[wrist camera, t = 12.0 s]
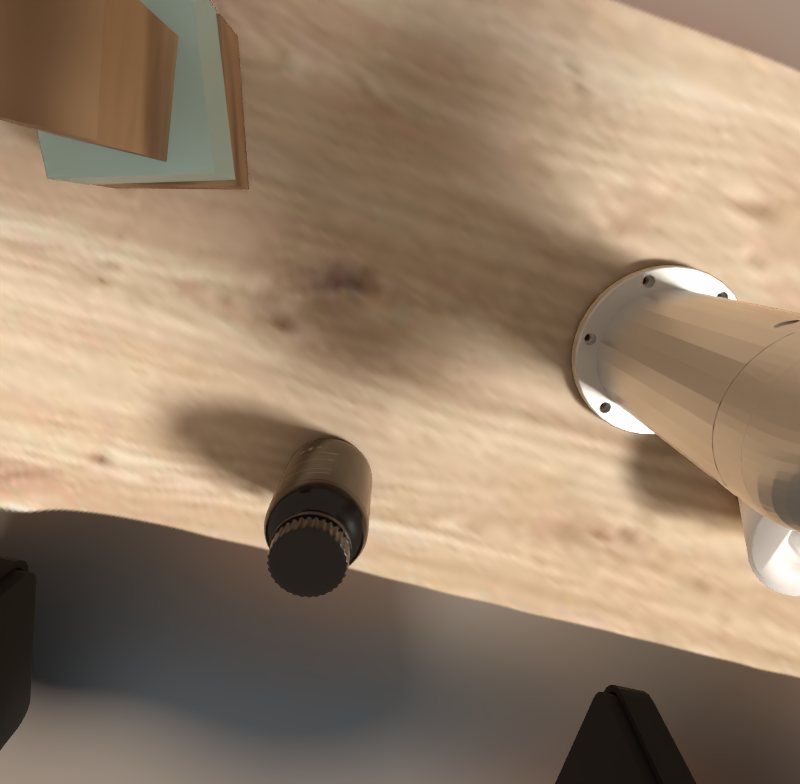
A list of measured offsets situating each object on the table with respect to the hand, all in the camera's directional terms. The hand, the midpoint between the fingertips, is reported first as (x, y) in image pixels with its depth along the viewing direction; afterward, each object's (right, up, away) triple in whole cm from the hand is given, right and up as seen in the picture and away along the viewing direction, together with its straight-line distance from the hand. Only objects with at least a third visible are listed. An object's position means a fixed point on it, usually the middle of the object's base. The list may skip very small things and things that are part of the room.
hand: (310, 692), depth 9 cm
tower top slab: (-13, +22, +22) cm, 34 cm away
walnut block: (-13, +21, +18) cm, 31 cm away
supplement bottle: (-4, -2, +34) cm, 34 cm away
